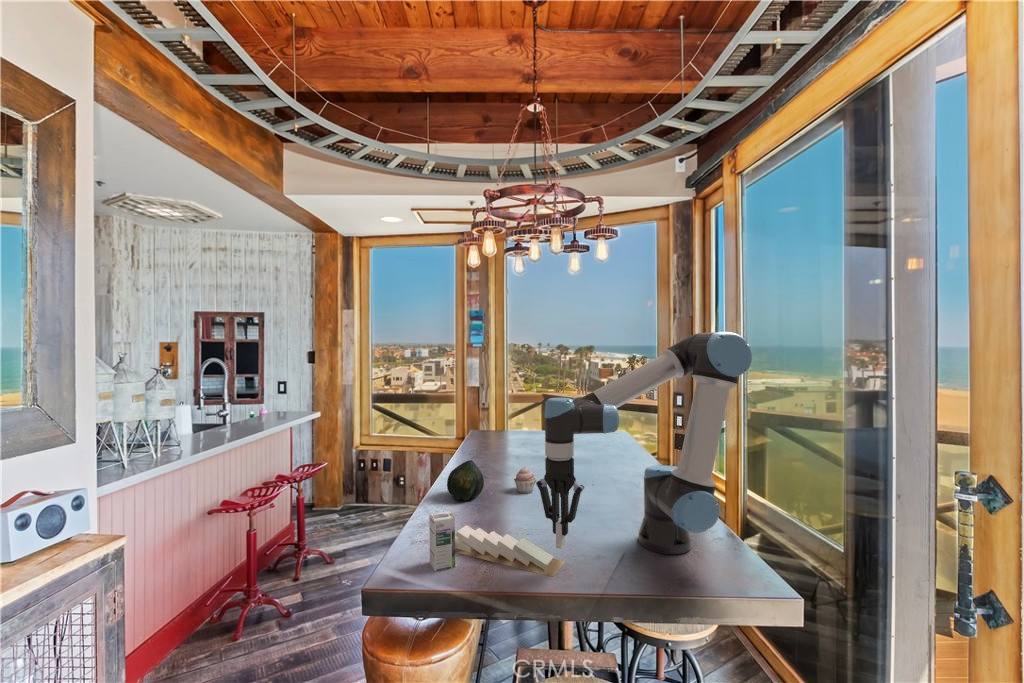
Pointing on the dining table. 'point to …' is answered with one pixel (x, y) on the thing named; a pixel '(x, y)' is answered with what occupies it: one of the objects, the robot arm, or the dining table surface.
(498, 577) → the dining table surface
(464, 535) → the domino
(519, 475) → the cupcake
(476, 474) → the squash
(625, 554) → the dining table surface
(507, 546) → the domino
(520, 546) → the domino
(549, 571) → the board
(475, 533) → the domino
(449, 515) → the syrup box
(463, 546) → the domino
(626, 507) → the dining table surface
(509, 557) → the domino
